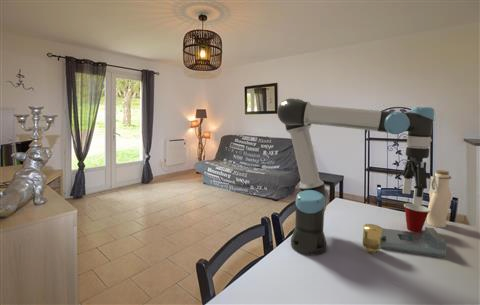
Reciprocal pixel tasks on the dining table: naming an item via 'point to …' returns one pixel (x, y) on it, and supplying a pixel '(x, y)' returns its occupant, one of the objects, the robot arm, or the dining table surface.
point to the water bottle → (439, 199)
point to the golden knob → (372, 237)
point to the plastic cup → (415, 216)
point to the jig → (414, 241)
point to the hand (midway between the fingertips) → (411, 198)
